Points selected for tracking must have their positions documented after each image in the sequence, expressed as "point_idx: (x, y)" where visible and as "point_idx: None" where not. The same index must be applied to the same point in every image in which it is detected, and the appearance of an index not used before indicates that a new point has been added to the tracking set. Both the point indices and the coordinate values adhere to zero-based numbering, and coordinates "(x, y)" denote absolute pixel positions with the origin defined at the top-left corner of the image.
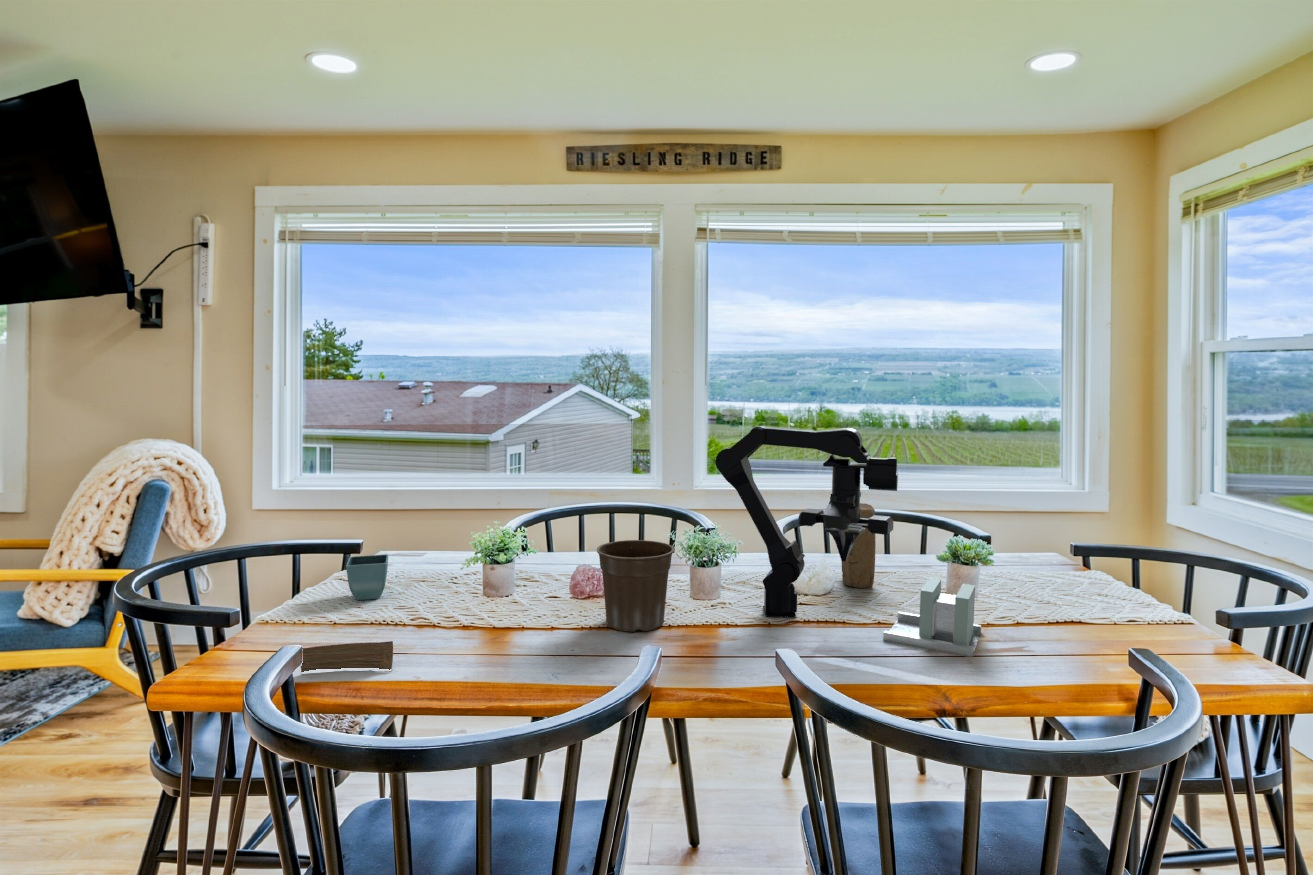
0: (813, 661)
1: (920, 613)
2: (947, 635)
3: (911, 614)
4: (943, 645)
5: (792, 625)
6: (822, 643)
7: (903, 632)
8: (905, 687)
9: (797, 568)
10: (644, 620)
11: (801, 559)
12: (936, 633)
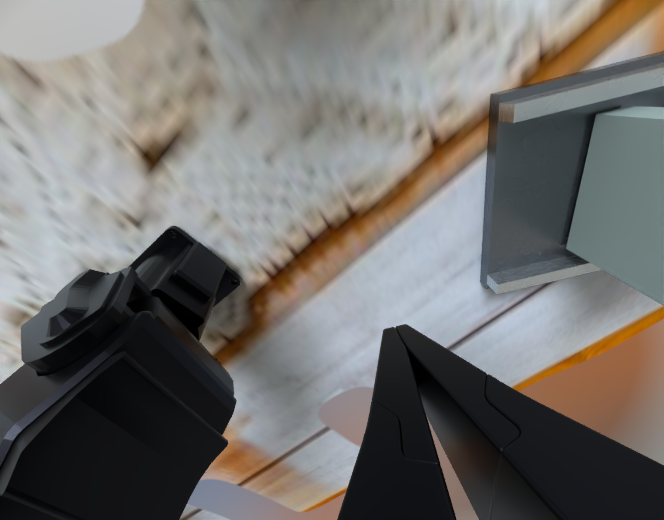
0: None
1: (634, 286)
2: None
3: (559, 103)
4: None
5: (271, 315)
6: (375, 345)
7: (525, 211)
8: (537, 380)
9: (227, 423)
10: None
11: (195, 420)
12: None
